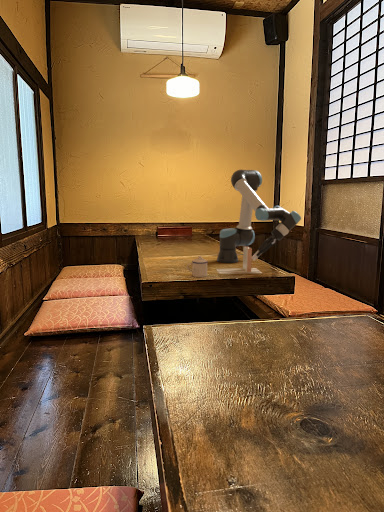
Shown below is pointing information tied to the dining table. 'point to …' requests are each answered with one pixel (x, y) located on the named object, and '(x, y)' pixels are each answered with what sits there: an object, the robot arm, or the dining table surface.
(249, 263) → the tile
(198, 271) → the teacup with lid
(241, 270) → the board
